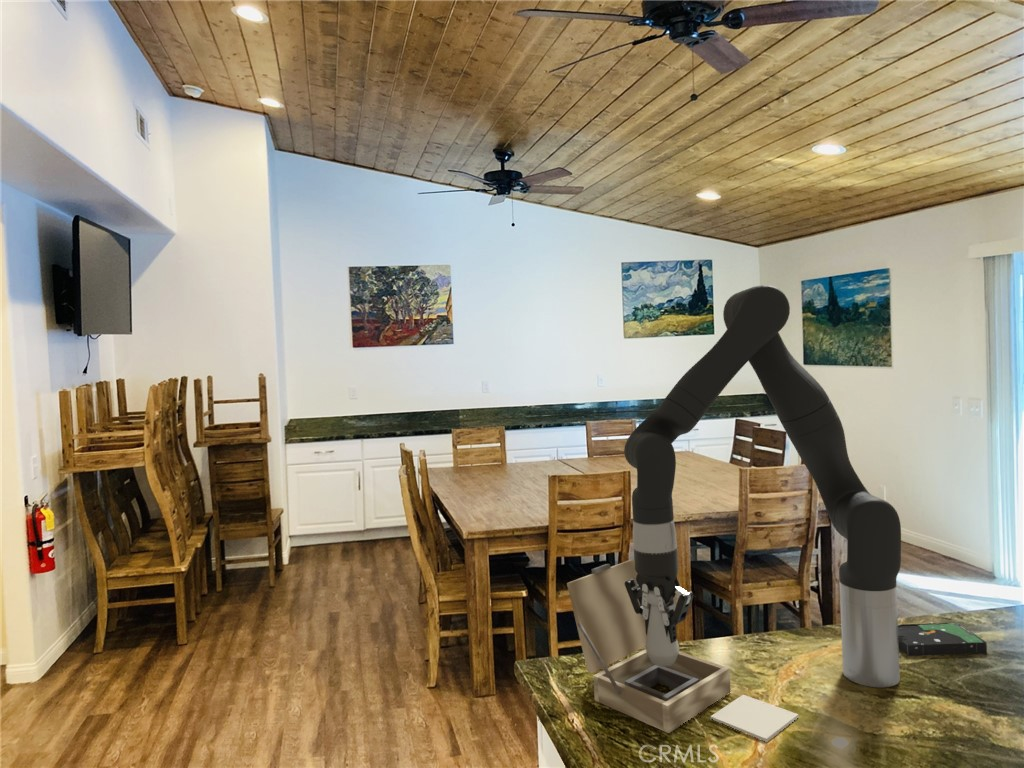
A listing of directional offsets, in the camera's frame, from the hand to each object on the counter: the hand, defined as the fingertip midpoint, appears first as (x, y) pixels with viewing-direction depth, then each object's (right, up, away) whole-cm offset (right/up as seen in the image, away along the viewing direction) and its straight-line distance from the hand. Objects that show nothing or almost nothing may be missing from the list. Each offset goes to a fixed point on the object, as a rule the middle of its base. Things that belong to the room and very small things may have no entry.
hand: (661, 641), depth 125 cm
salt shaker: (0, -4, 0) cm, 4 cm away
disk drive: (+57, -7, +15) cm, 60 cm away
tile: (+13, -10, -9) cm, 19 cm away
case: (-1, -10, +1) cm, 10 cm away
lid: (-7, +3, +8) cm, 11 cm away
